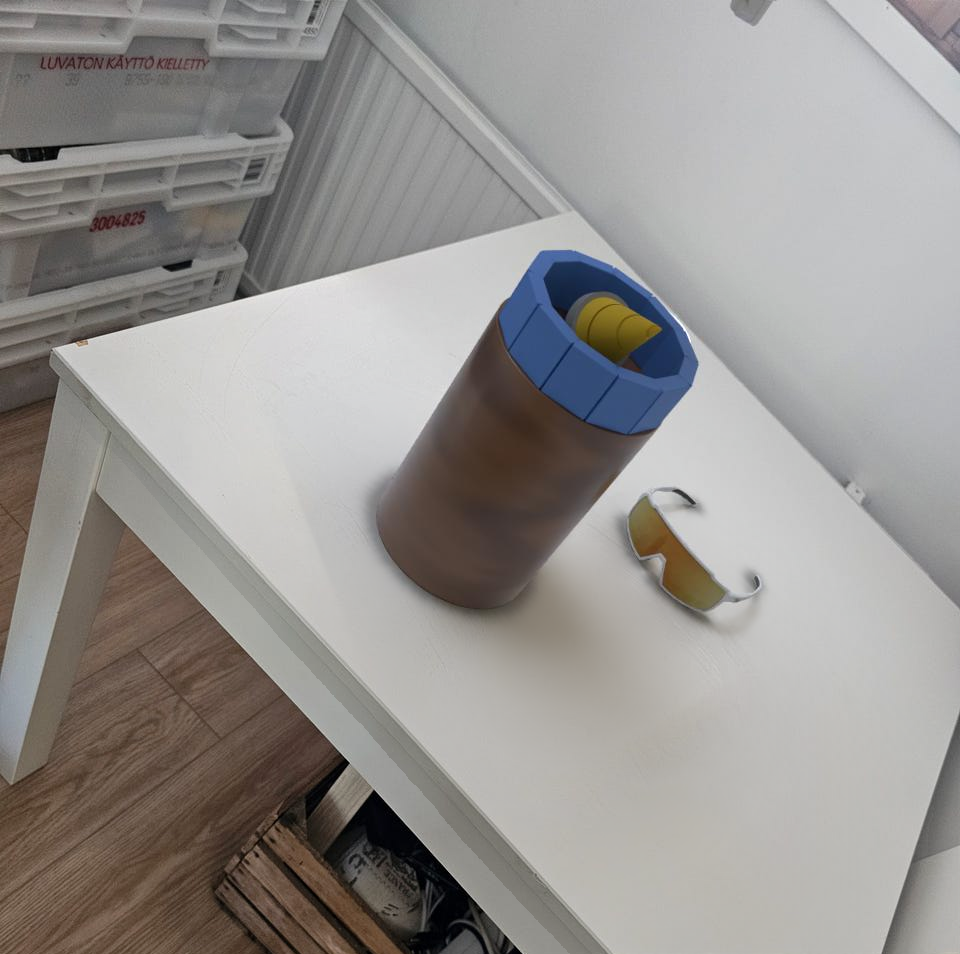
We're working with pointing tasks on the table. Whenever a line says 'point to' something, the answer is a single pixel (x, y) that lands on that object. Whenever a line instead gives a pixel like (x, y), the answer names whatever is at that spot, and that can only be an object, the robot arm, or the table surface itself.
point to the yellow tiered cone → (609, 325)
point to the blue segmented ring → (579, 368)
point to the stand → (496, 480)
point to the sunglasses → (676, 556)
